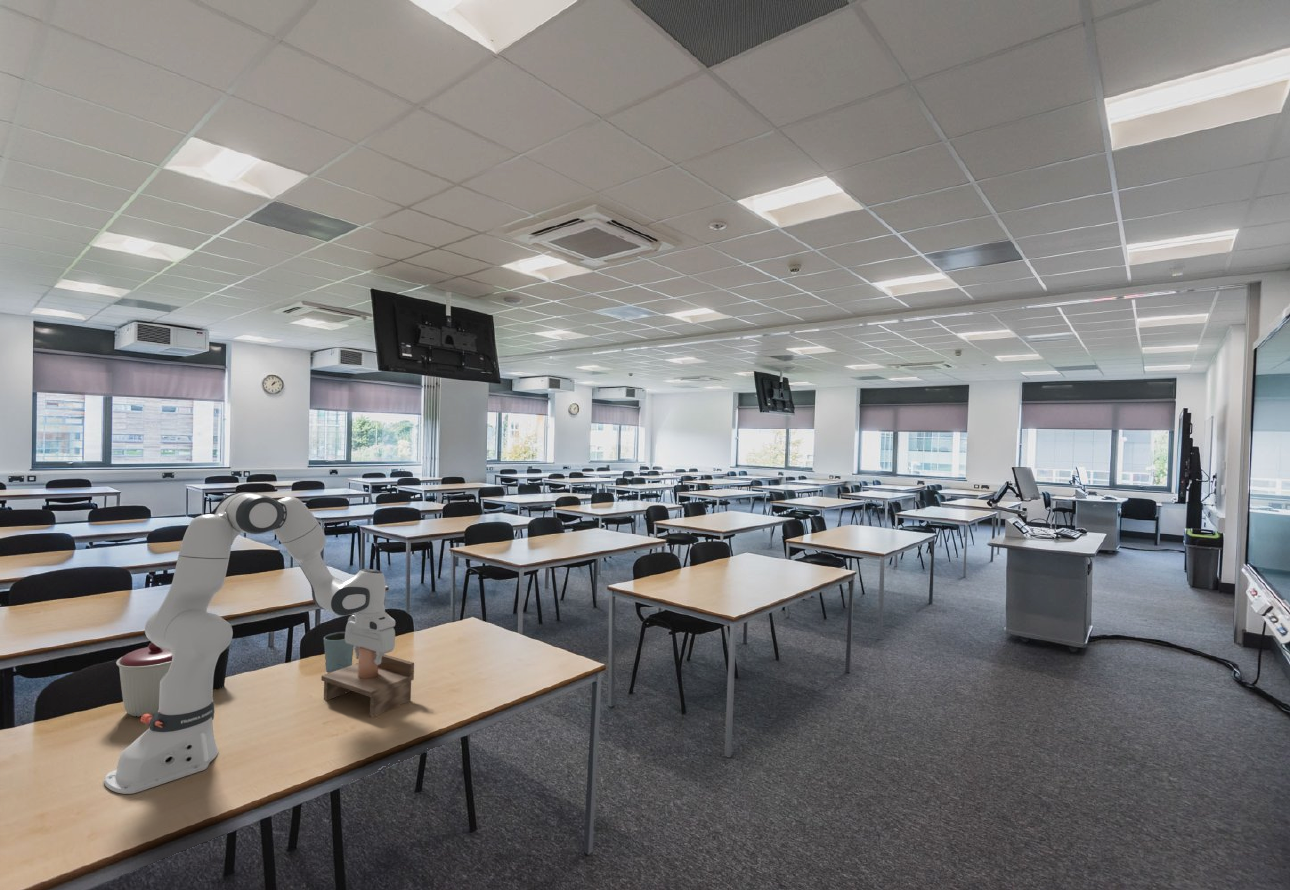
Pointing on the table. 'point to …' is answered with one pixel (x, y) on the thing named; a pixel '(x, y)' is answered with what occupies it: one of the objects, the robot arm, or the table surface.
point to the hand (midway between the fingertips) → (368, 661)
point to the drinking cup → (221, 669)
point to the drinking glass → (337, 652)
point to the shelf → (374, 684)
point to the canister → (143, 678)
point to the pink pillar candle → (367, 664)
